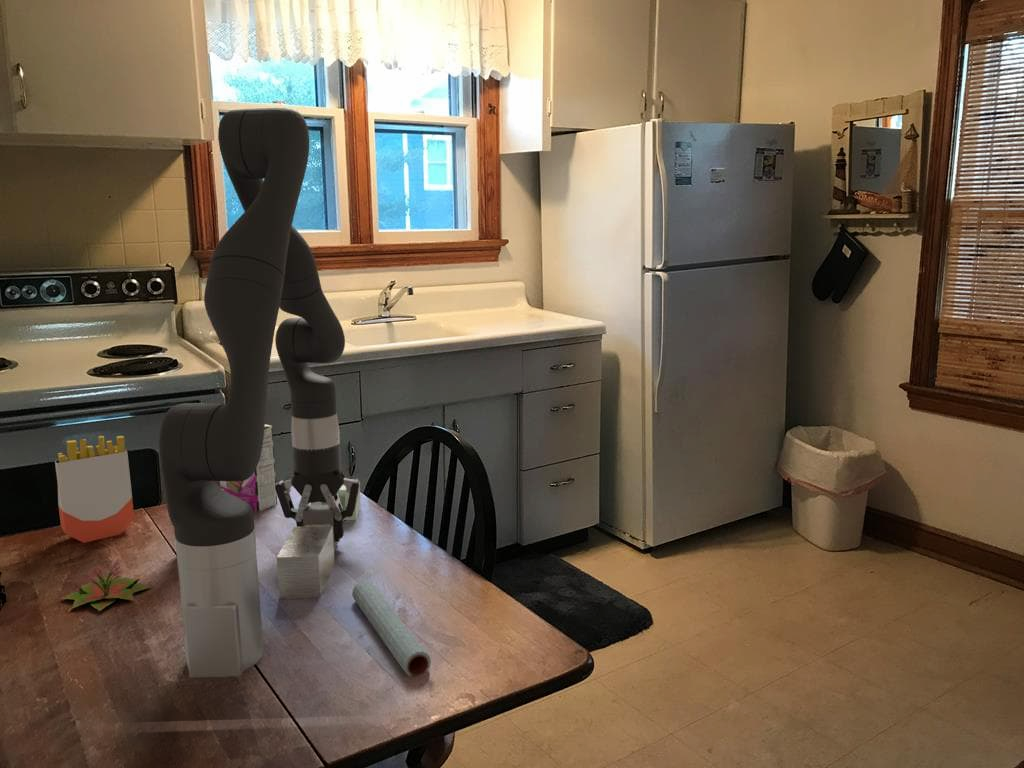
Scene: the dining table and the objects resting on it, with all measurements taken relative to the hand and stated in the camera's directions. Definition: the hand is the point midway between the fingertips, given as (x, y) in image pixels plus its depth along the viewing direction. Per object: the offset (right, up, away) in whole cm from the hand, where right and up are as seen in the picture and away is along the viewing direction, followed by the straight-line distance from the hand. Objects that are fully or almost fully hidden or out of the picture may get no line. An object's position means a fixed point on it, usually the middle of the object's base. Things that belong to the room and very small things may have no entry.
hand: (321, 539), depth 138 cm
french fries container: (-40, -1, +7) cm, 41 cm away
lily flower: (-28, -6, -15) cm, 32 cm away
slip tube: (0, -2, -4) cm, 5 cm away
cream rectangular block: (0, -4, -11) cm, 12 cm away
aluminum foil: (+14, -8, -28) cm, 32 cm away
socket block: (-1, +1, +15) cm, 15 cm away
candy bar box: (-19, +2, +22) cm, 29 cm away
